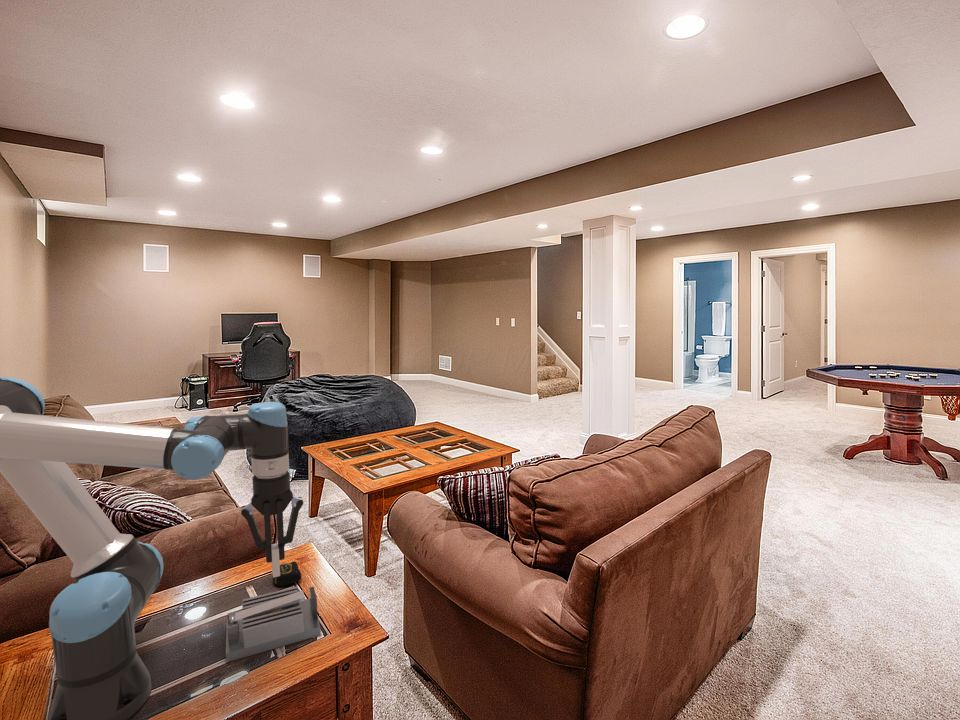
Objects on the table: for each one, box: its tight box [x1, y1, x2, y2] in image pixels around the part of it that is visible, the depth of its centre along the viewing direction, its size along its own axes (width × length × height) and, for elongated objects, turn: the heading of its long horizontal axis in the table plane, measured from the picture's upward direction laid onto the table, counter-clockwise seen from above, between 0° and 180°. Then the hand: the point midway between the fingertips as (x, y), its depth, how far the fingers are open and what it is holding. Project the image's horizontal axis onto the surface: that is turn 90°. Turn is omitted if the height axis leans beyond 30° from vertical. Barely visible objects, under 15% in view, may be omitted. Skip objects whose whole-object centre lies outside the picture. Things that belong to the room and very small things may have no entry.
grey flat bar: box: [229, 590, 306, 625], centre depth 112 cm, size 16×3×1 cm, turn 115°
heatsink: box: [225, 586, 322, 663], centre depth 112 cm, size 19×12×7 cm, turn 116°
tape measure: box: [271, 560, 302, 587], centre depth 133 cm, size 7×7×4 cm
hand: (276, 573), depth 112 cm, fingers closed
